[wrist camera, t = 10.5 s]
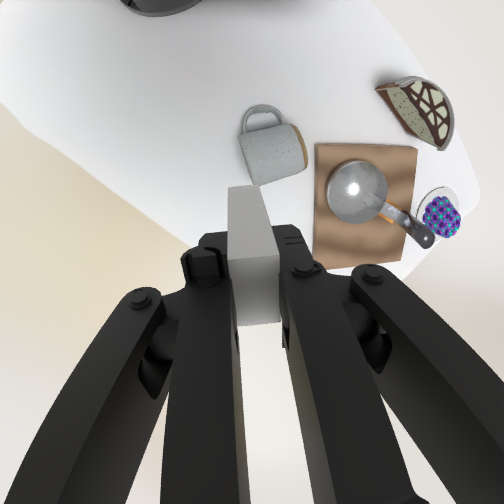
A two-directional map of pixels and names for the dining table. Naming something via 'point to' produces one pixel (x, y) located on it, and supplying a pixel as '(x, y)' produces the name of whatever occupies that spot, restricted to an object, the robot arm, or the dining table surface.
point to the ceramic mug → (272, 149)
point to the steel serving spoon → (369, 199)
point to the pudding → (441, 213)
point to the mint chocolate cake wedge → (420, 109)
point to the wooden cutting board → (375, 230)
